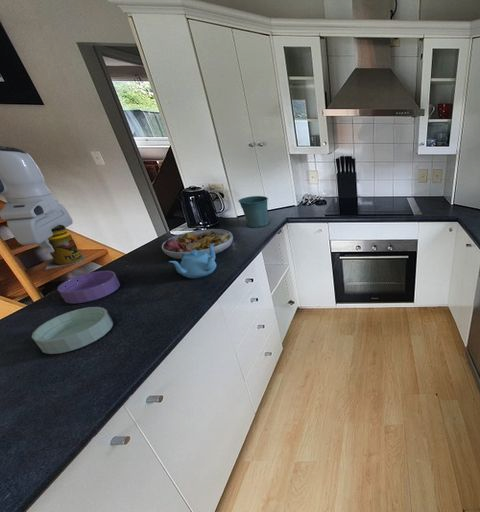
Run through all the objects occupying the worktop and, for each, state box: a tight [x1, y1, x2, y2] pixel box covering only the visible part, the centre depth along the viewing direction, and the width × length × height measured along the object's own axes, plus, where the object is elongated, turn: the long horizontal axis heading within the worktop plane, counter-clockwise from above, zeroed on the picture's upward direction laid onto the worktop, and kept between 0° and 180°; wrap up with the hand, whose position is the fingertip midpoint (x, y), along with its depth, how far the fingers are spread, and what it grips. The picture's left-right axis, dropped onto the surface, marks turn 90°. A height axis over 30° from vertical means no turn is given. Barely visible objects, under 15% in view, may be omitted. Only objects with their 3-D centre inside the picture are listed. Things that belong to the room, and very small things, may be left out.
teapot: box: [168, 243, 217, 279], centre depth 115 cm, size 15×15×10 cm
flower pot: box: [238, 195, 270, 228], centre depth 168 cm, size 16×16×16 cm
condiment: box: [45, 225, 85, 270], centre depth 86 cm, size 7×8×12 cm
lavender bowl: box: [56, 270, 121, 304], centre depth 101 cm, size 15×15×5 cm
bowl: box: [161, 228, 234, 260], centre depth 137 cm, size 30×30×8 cm
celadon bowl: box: [31, 306, 114, 355], centre depth 81 cm, size 15×15×5 cm
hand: (58, 247), depth 87 cm, fingers closed on condiment, 6 cm apart
